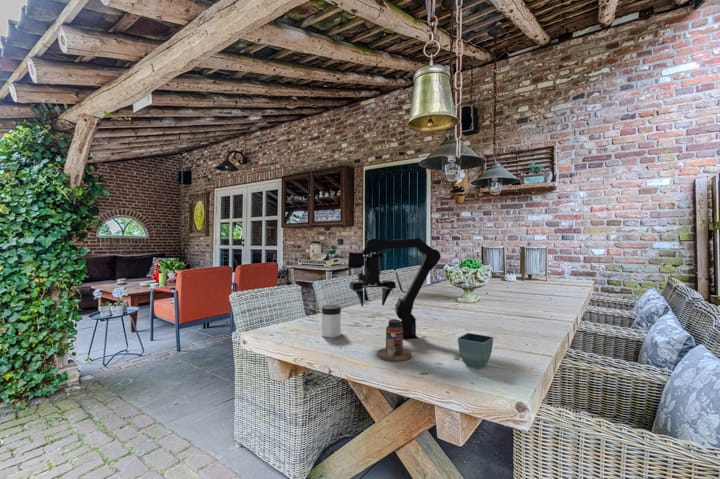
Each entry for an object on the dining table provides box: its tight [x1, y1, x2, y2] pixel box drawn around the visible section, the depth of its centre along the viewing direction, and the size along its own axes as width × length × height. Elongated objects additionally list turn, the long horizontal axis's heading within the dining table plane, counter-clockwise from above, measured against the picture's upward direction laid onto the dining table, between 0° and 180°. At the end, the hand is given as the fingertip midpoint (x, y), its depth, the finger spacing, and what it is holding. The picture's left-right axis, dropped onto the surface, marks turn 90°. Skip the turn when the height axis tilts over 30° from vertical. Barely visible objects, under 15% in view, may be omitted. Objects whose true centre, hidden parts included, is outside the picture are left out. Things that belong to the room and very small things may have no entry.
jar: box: [321, 304, 342, 339], centre depth 148 cm, size 9×8×12 cm
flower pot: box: [457, 332, 494, 369], centre depth 112 cm, size 9×9×9 cm
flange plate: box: [376, 339, 412, 363], centre depth 121 cm, size 12×12×7 cm
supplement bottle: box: [385, 318, 404, 355], centre depth 122 cm, size 6×6×11 cm
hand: (372, 305), depth 144 cm, fingers open, 9 cm apart
